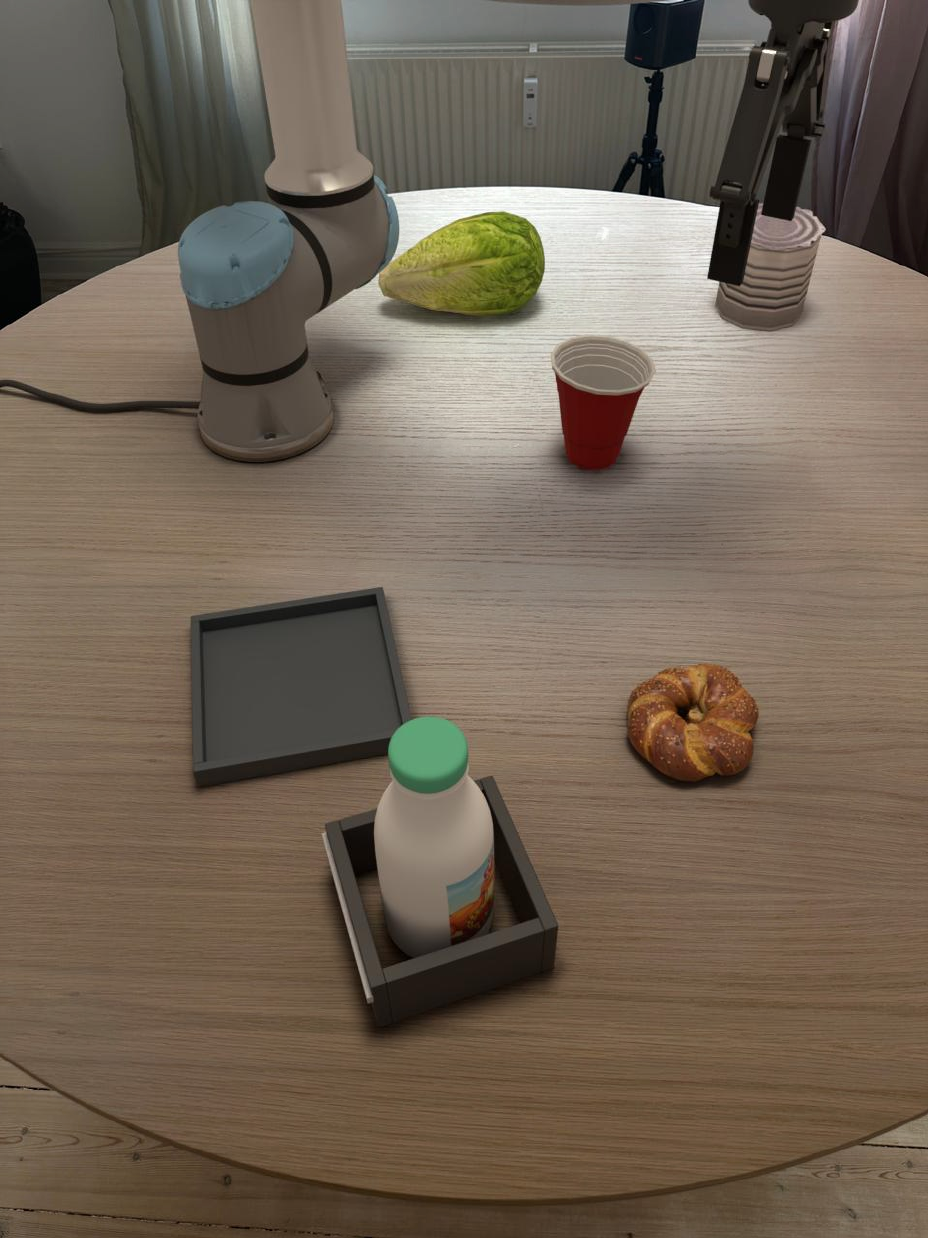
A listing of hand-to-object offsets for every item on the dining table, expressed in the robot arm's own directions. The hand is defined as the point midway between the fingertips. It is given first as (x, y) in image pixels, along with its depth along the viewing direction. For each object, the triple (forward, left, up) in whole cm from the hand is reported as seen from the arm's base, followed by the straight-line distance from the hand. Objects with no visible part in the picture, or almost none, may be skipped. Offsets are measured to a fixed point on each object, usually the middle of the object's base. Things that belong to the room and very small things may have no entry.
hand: (752, 247), depth 82 cm
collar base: (+1, -53, -28) cm, 60 cm away
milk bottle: (+1, -53, -28) cm, 60 cm away
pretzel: (+10, -28, -28) cm, 41 cm away
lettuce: (-44, +24, -28) cm, 57 cm away
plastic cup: (-13, +3, -28) cm, 31 cm away
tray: (-21, -41, -28) cm, 54 cm away
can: (-9, +43, -28) cm, 52 cm away
